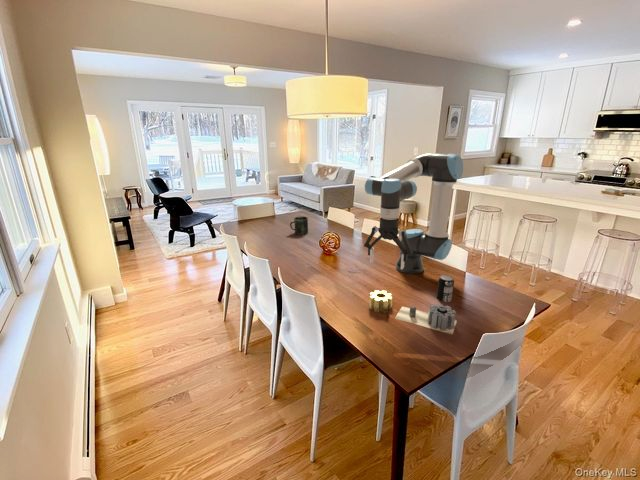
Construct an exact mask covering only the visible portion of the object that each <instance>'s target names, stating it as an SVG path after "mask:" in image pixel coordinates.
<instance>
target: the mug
mask: <svg viewBox="0 0 640 480" xmlns="http://www.w3.org/2000/svg"><path fill="white" fill-rule="evenodd" d="M308 220H309V217H308V216H305V215H304V216H295V217H294V218H293V221H290V223H289V224H290V225H289V227H290V229H291V230H292V231H294V233H295V235H301V234H302V235H306V234H308V233H309V223H308ZM292 224H294V228H293V226H292Z"/></svg>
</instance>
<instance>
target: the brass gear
mask: <svg viewBox="0 0 640 480" xmlns="http://www.w3.org/2000/svg"><path fill="white" fill-rule="evenodd" d="M368 299H369V301H368V302H369V303H368V304H369V306H368V308H369V309H370V310H371V311H372V310H373V312H374V313H378V314H379V313H382V314H387V313H388V312H389V309H392V306H393V294H392V293H391V292H388V291H387V290H383V289H382V290H381V291H380V290H379V289H377V290H374V291H371V292H370V293H369V298H368Z"/></svg>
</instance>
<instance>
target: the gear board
mask: <svg viewBox="0 0 640 480" xmlns="http://www.w3.org/2000/svg"><path fill="white" fill-rule="evenodd" d="M394 319H395V320H399V321H402V322H407V323H410V324H413V325H417V326H420V327H423V328H427V329H432V330H434V331H438V332H442V333H445V334H449V335H453V334H454V331H455V328H456V325H457V322H458V320H456V319H455V322H454V326H453V329H451V330H449V329H446V331H441V330H440V328H436V329H434V328H433V327H431V324H428V312H426V311H422V310H419V309H417V306H414V305H410V307H407V306H403V305H402V306H401V307H400V309H399V311H398V312H397V314H396V316H395V317H394Z"/></svg>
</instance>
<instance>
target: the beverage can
mask: <svg viewBox="0 0 640 480" xmlns="http://www.w3.org/2000/svg"><path fill="white" fill-rule="evenodd" d="M454 285H455V280H454V277H453V276H452V275H450V274H441V275H440V276H439V279H438V285H437V294H436V299H437V300H438V301H441V302H445V303H447V302H448V303H450V302H452V301H453V292H454Z"/></svg>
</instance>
